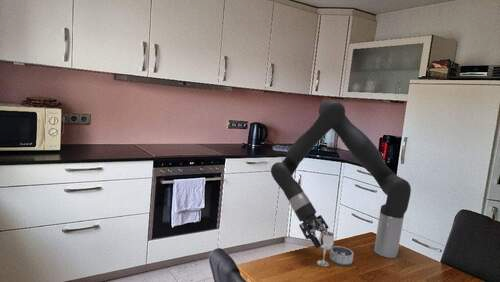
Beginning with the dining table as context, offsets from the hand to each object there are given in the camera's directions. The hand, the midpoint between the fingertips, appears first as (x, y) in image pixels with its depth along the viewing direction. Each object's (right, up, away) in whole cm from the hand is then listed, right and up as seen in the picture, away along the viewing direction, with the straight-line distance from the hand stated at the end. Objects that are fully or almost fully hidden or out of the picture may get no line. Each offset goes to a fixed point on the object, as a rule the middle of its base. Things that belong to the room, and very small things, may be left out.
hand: (324, 244), depth 128 cm
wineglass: (0, -8, +1) cm, 8 cm away
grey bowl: (+7, -8, +4) cm, 12 cm away
